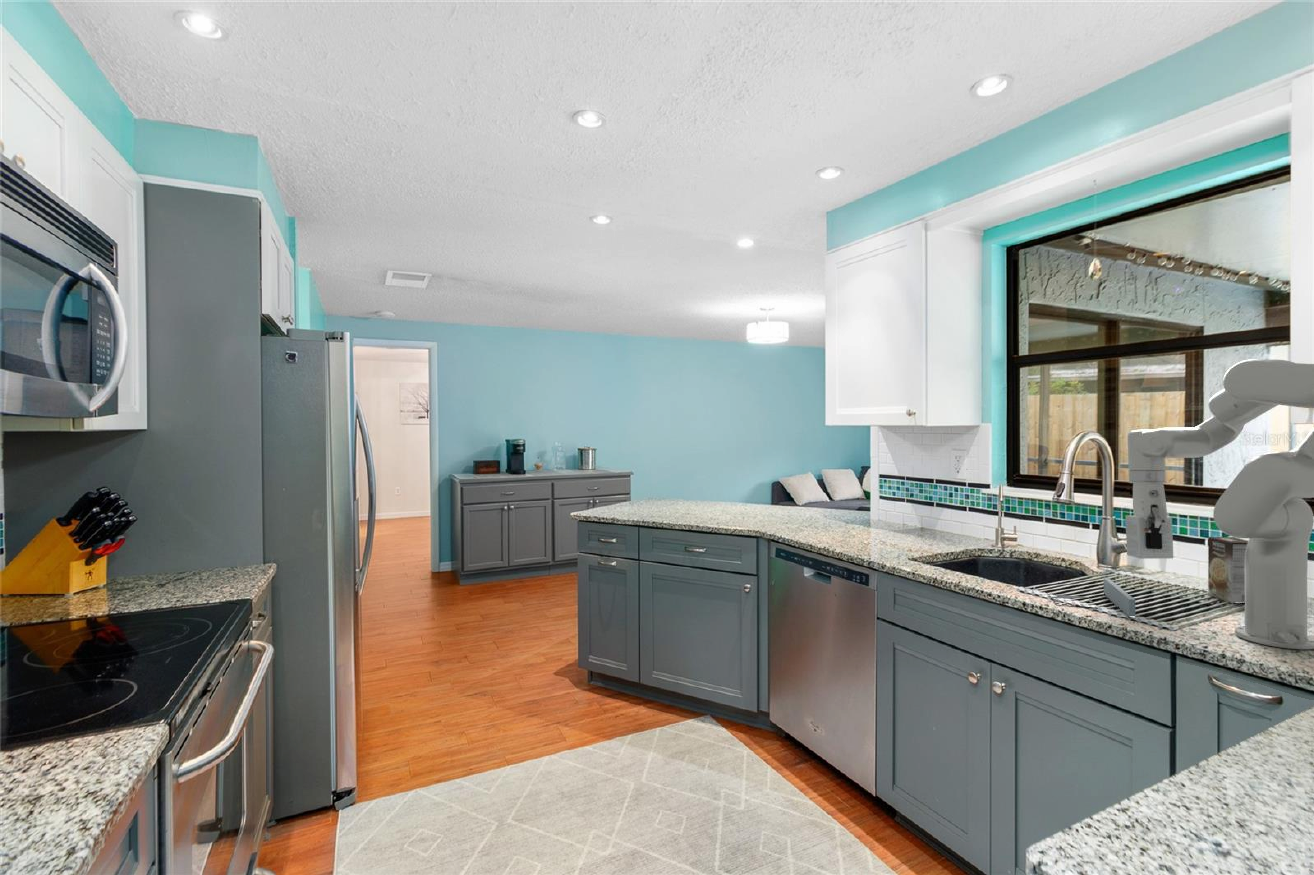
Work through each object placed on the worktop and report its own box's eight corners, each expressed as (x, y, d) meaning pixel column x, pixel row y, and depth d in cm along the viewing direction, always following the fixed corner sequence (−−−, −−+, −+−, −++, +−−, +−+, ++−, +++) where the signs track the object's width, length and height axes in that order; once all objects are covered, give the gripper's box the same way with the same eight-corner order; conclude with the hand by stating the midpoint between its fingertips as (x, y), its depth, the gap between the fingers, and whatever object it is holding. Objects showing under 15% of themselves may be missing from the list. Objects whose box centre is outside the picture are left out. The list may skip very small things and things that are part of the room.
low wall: (1135, 618, 149) (1135, 599, 149) (1129, 617, 149) (1129, 599, 149) (1109, 594, 171) (1108, 578, 171) (1103, 594, 171) (1103, 577, 171)
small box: (1158, 555, 163) (1157, 514, 163) (1174, 558, 157) (1172, 517, 157) (1125, 555, 163) (1124, 515, 164) (1140, 558, 158) (1138, 517, 158)
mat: (1098, 608, 157) (1098, 607, 157) (1056, 605, 161) (1056, 603, 161) (1088, 598, 167) (1088, 597, 167) (1048, 594, 171) (1048, 593, 171)
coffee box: (1206, 594, 170) (1206, 536, 170) (1233, 595, 169) (1233, 536, 169) (1231, 603, 161) (1230, 542, 161) (1259, 604, 160) (1259, 542, 160)
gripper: (1177, 479, 151) (1179, 552, 151) (1153, 476, 167) (1156, 542, 167) (1139, 478, 154) (1141, 550, 154) (1120, 476, 170) (1122, 541, 170)
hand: (1149, 546), depth 160 cm, fingers closed on small box, 6 cm apart
